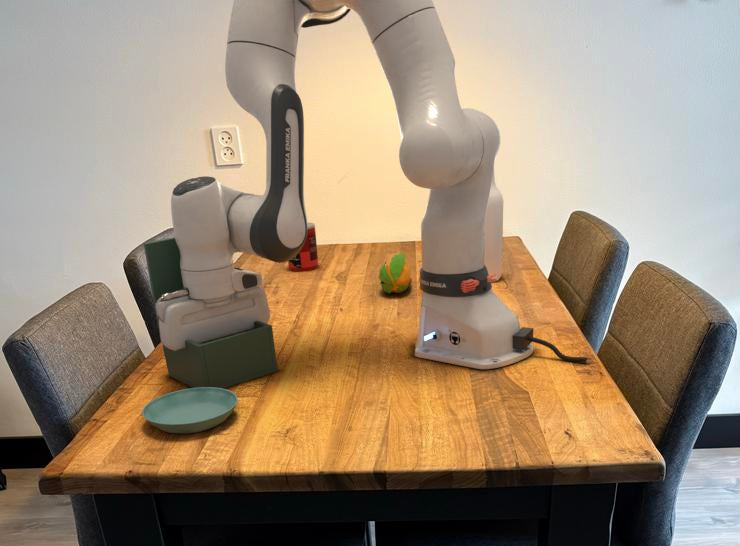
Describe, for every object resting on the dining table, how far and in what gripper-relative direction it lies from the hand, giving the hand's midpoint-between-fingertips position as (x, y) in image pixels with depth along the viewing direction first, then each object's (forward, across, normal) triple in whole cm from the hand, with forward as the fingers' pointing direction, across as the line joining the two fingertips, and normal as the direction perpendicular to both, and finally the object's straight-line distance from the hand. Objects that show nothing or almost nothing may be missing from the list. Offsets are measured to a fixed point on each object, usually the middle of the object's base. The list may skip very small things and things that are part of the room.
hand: (222, 361), depth 138 cm
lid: (-14, 0, +7) cm, 15 cm away
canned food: (+3, +58, +56) cm, 81 cm away
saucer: (+2, -14, -15) cm, 21 cm away
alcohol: (+3, +78, +9) cm, 78 cm away
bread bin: (+2, 0, 0) cm, 2 cm away
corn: (+3, +59, +20) cm, 63 cm away
